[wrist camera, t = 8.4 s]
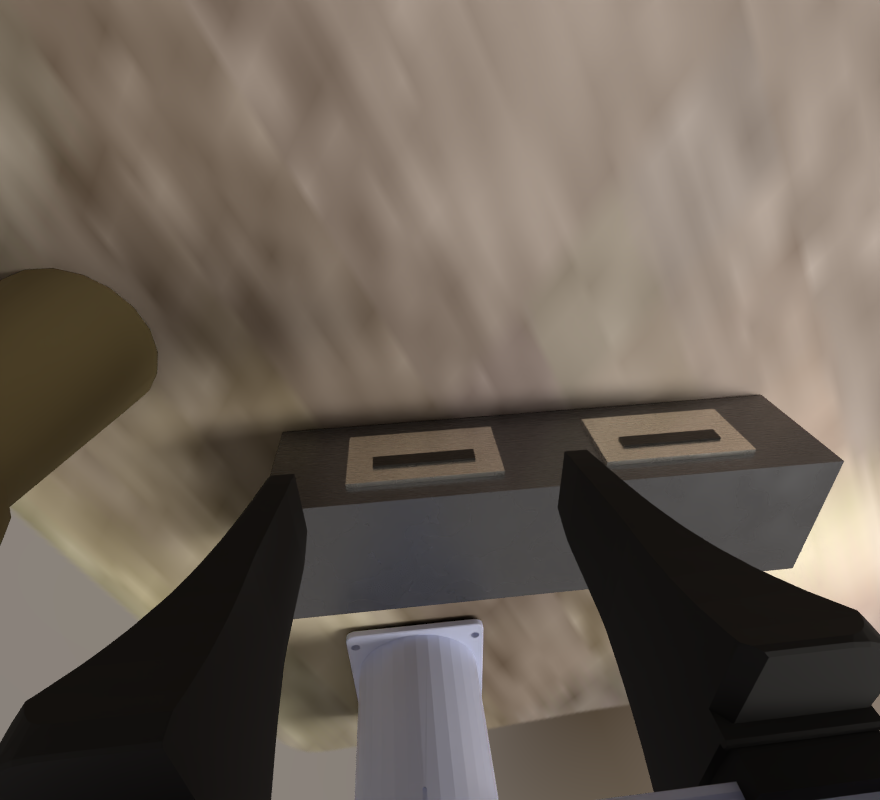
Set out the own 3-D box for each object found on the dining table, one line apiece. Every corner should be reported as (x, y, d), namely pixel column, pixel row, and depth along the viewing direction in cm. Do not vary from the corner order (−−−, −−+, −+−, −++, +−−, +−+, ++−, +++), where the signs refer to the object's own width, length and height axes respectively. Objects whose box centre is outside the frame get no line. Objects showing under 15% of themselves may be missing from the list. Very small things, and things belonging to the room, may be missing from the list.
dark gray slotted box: (727, 492, 27) (792, 568, 23) (305, 531, 25) (289, 619, 21) (763, 389, 24) (847, 454, 19) (281, 426, 22) (257, 506, 18)
